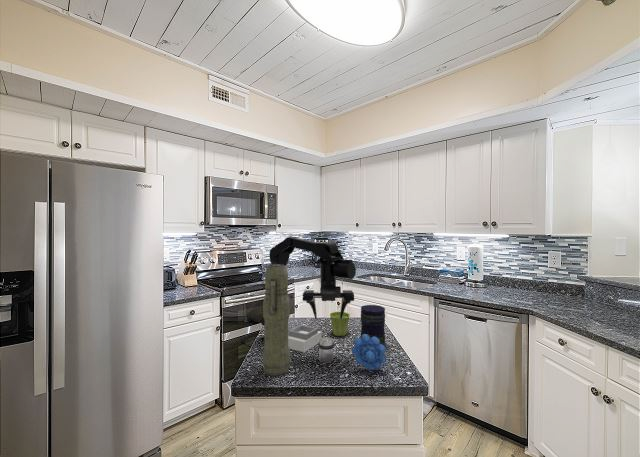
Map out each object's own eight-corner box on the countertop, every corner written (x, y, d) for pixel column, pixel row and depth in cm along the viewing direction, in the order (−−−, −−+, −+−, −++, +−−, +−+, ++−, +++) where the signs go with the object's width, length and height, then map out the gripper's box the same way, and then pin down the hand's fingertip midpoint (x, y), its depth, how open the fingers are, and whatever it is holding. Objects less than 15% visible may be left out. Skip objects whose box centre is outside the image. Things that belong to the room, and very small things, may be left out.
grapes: (352, 376, 91) (352, 338, 91) (351, 366, 98) (351, 331, 98) (389, 377, 90) (389, 339, 90) (385, 367, 97) (385, 331, 97)
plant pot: (353, 332, 130) (353, 313, 130) (344, 339, 122) (344, 319, 122) (335, 328, 135) (335, 310, 135) (325, 335, 127) (325, 315, 127)
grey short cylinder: (315, 360, 102) (315, 340, 102) (323, 354, 107) (323, 335, 107) (329, 364, 99) (329, 344, 99) (336, 358, 104) (336, 338, 104)
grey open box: (284, 347, 113) (284, 332, 113) (303, 336, 124) (303, 323, 124) (304, 352, 108) (304, 336, 108) (321, 341, 120) (321, 326, 120)
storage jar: (365, 338, 123) (365, 303, 123) (388, 342, 118) (388, 306, 118) (356, 346, 114) (356, 309, 114) (380, 351, 109) (380, 312, 109)
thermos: (290, 360, 102) (291, 262, 102) (288, 378, 90) (288, 266, 90) (265, 361, 101) (266, 262, 102) (260, 378, 90) (260, 267, 90)
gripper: (301, 280, 98) (301, 325, 98) (355, 280, 97) (355, 326, 97) (303, 275, 109) (303, 316, 109) (352, 275, 109) (352, 316, 108)
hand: (328, 318), depth 106 cm, fingers open, 9 cm apart
